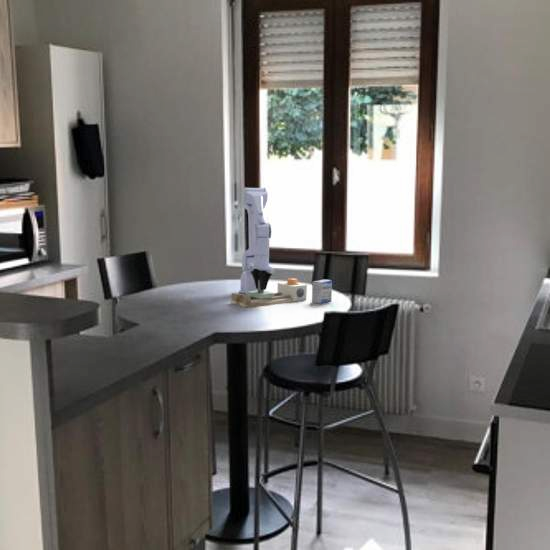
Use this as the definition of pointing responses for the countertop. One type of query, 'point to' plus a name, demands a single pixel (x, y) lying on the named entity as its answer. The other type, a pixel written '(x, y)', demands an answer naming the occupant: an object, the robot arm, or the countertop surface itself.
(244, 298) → the rail track
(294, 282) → the button
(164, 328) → the countertop surface
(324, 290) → the medicine box
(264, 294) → the carriage
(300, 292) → the end cabinet
